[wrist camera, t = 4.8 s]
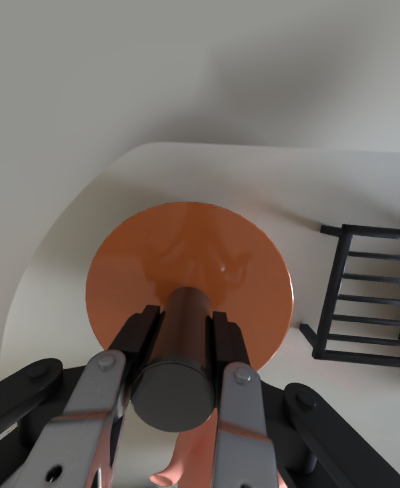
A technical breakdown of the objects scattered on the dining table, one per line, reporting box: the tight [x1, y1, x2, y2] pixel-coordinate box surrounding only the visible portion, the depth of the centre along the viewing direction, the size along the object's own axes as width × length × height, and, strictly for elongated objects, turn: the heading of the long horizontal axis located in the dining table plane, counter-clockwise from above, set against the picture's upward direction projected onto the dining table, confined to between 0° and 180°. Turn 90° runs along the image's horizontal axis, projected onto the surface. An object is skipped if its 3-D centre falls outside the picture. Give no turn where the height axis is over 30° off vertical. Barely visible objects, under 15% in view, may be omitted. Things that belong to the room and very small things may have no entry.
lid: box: [86, 202, 293, 432], centre depth 10 cm, size 13×13×7 cm
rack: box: [300, 224, 400, 367], centre depth 24 cm, size 16×16×5 cm
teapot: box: [150, 408, 287, 488], centre depth 25 cm, size 15×17×13 cm
